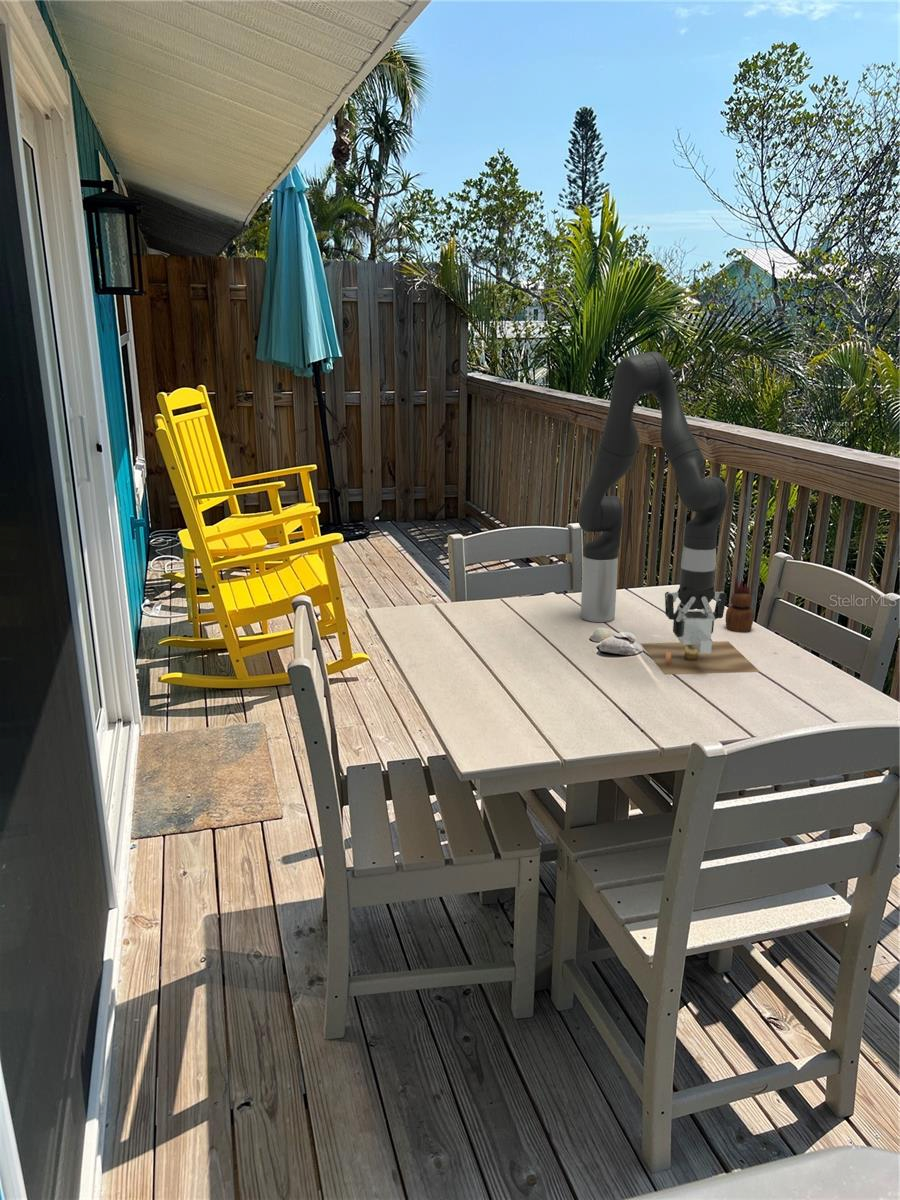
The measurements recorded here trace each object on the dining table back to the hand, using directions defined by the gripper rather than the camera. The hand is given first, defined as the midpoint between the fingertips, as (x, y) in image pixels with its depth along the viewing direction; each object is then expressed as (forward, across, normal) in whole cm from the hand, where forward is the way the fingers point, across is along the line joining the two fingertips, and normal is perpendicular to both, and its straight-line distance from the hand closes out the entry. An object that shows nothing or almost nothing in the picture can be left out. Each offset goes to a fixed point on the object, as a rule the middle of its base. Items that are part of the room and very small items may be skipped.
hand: (692, 635), depth 206 cm
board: (+7, -2, -1) cm, 8 cm away
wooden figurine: (+8, -19, -20) cm, 29 cm away
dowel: (+6, +6, +3) cm, 9 cm away
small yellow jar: (+6, 0, 0) cm, 6 cm away
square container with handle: (+1, 0, +3) cm, 3 cm away
